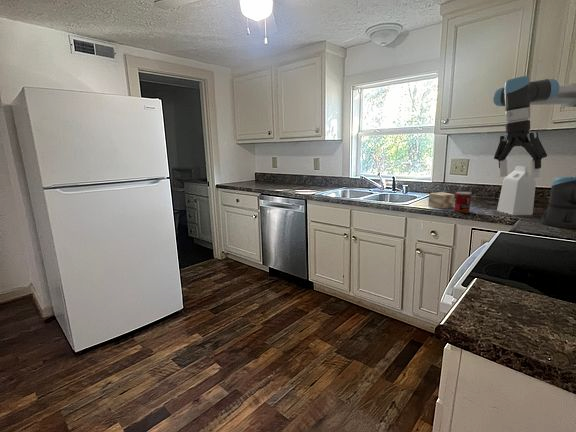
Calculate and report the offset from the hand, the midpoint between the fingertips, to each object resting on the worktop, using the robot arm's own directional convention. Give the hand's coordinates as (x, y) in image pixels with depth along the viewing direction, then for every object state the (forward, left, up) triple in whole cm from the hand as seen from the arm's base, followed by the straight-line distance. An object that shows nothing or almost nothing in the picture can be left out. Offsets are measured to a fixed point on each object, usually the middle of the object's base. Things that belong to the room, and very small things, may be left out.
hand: (518, 177), depth 122 cm
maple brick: (-31, -64, -26) cm, 75 cm away
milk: (-54, -34, -26) cm, 69 cm away
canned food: (-30, -48, -26) cm, 62 cm away
